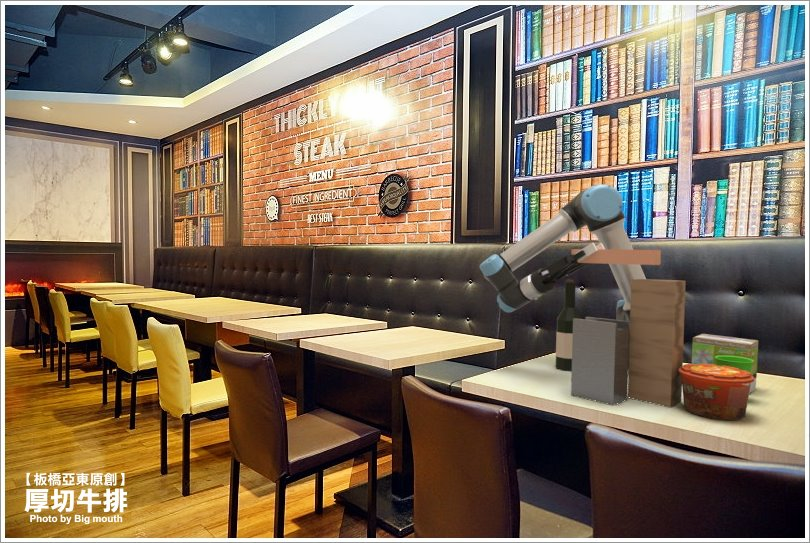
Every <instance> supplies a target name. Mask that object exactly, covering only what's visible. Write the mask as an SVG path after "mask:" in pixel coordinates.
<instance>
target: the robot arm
mask: <svg viewBox="0 0 810 543" xmlns="http://www.w3.org/2000/svg"><path fill="white" fill-rule="evenodd" d="M625 220H626V216H625V214H624V211H623V197H622V195H621V194H620V192H619V191H618V189H616V188H615V187H614V186H612V185H608V184H594V185H592V186H590V187H588V188H586V189H583V190H582V191H580V192H579V193H577V195H575V196H574V197H573V198H572V199H571V200H570V201H569V202H567V203H566V204H565V205H564V206H562V207H561V208H560V209H559V210H558V213H557V214H556V215H554V216H553V217H552V218H550V219H549V220H547V221H546V222H545V223H543V224H542V225H540V226H538V228H536V229H535V230H533V231H532V232H530V233H528V234H527V235H525V236H524V237H523V238H521V239H520V240H519V241H517V242H516V243H515V244H513V245H511V246H510V247H509V248H507V249H506V250H504V251H503V252H501V253H500V254H499V255H498V254H495V253H494V254H492V255H490V256H489V257H488V258H486V259H485V260H484V261H483V262H482V263H480V264H479V270H480V271H481V273H482V275H483V278H484V279H485V280H486V281H487V282H488V283H490V284H491V285H492V286H493V287H494V289H495V290H496V291H497V293H498V295H497V297H496V302H497V303H498V307H499V308H500V309H501V310H502V311H503V312H505V313H512V312H514V311H517V310H519V309H521V308H522V307H524V306H525V305H527V304H529V303H530V302H533V301H537V300H539V299H538V298H540V297H541V296H543V295H544V294H547V293H549V292H550V291H553V289H554V288H555V286H556V281H557V282H558V281H560V280H562V279H563V278H569V277H570V276H571V275H572V274H574V273H576V272H577V271H579V270H580V269H583V268H584V267H586V266H587V265H590V263H577V261H578V262H580V261H582V260H584V259H585V258H587V257H589V256H590V255H592V254H594V253H595V252H597V251H598V250H597V249H630V250H634V248H633V245H632V243H631V240H630V238H629V236H628V234H627V231H626V229H625V227H624V223H625ZM584 227H587V230H588V231H589V233H590V234H593V235H595V236H596V238H597V240H598V243H599V244H597V245H596V244H595V243H594V242H591V243H589V244H588V245H586V246H584V247H583V248H580V249H581V250H580V251H578V252H576V253H575V254H574V255H571V254H570V255H565V256H564V257H562V258H560V259H559V260H557V261H556V262H554V263H552V264H550V265H549V266H547V267H545V268H543V267H540V268H539V269H537V270H535V271H534V272H532V273H531V274H529V275H527V276H525V277H523V278H522V279H520V280H518V279H517V278H516V276H515V275H514V274H513V273H512V272H514V271H515V270H516V269H518V268H519V267H521V266H523V265H524V264H526V263H527V262H529V261H530V260H532V259H533V258H534V257H536V256H537V255H539V254H541V253H542V252H543V251H544V250H546V249H548V248H549V247H551V246H552V245H553V244H555V243H556V242H557V241H559V240H561V239H562V238H563V237H565V236H567V235H568V234H570V233H571V232H573V233H575V232H577V231H579V230H580V229H582V228H584ZM576 260H577V261H576ZM608 265H609V268H610V269H611V270H610V271H611V273H612V274H613V277H614V279H615V281H616V284H617V286H618V289H619V290H620V291H619V292H620V293H621V295H622V298H623V299H620V300H618V301H617V302H616V309H615V311H616V315H615V316H616V318H615V320H621V321H629V340H630V308H631V279H647V278H646V276H645V273H644V271H643V269H642V265H638V264H608ZM628 369H629V352H628Z"/></svg>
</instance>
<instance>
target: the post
mask: <svg viewBox="0 0 810 543" xmlns="http://www.w3.org/2000/svg"><path fill="white" fill-rule="evenodd" d="M686 282H687V281H686V280H673V279H654V278H653V279H651V278H646V279H631V308H630V340H629V368H628V384H627V398H628V397H630V398H629V399H631V398H634V399H633V400H635V399H638V400H637V401H640V400H642V401H641V402H644V401H647V402H646V403H649V402H651V403H650V404H653V403H655V404H654V405H658V404H660V405H659V406H662V405H664V406H663V407H666V406H668V407H667V408H673V407H674V405H675V406H676V404H677V405H679V404H681V403H682V397H683V389H682V379H681V373H679V372H678V370H679V368H681V367H682V366H683V365H684V364H683V363H684V362H683V361H684V335H685V334H684V333H685V307H686ZM678 403H679V404H678Z"/></svg>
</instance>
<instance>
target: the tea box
mask: <svg viewBox="0 0 810 543" xmlns="http://www.w3.org/2000/svg"><path fill="white" fill-rule="evenodd" d="M691 344H692V346H691V348H692V350H691V363H690V364H695V365H697V364H715V365H717V361H716V358H715V356H719V355H728V356H739V357H745V358H749V359H752V360H754V362H753V364H752V368H751V372H750V374H751V375H752V376H753V377H754V382H751V386H750V391H749V393H750V392H751V393H752V392H753V391H755V389H756V387H757V375H758V373H757V372H758V352H759V340H757V339H748V338H742V337H740V338H739V337H733V336H727V335H726V336H724V335H717V334H716V335H715V334H707V333H701V334H698V335H696V336H694V337H692V343H691ZM751 393H750V394H751Z"/></svg>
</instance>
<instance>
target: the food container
mask: <svg viewBox="0 0 810 543" xmlns="http://www.w3.org/2000/svg"><path fill="white" fill-rule="evenodd" d="M678 372H679V373H681V379H682V397H683V398H682V400H683V408H684V410H685V411H687V412H688V413H691V414H693V415H697V416H699V417H703V418H707V419H714V420H720V421H739V420H742V419H744V418H746V413H747V407H748V402H749V401H748V400H749V396H750V394H749V391H750V386H751V382H754V377H753V376H752V375H751V374H750V372H748V371H745V370H739V369H738V368H734V367H729V366H717V365H715V364H697V365H695V364H691V363H686V364H683V366H682V367H681V368H679V370H678Z"/></svg>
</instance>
